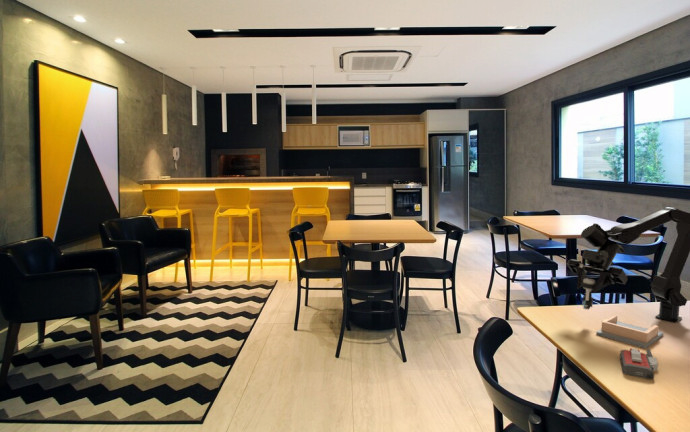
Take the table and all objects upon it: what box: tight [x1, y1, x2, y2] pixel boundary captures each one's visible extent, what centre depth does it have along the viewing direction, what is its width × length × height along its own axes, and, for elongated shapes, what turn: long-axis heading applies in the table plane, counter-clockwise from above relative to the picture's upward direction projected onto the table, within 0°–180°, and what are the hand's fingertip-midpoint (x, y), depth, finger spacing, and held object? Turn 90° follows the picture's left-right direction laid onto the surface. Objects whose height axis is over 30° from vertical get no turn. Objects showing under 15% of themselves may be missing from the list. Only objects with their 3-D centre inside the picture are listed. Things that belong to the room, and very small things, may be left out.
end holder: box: [595, 314, 664, 349], centre depth 140 cm, size 16×14×4 cm
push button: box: [580, 278, 597, 310], centre depth 148 cm, size 7×5×10 cm
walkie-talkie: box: [619, 347, 659, 380], centre depth 120 cm, size 9×4×20 cm
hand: (585, 290), depth 148 cm, fingers closed on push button, 5 cm apart
